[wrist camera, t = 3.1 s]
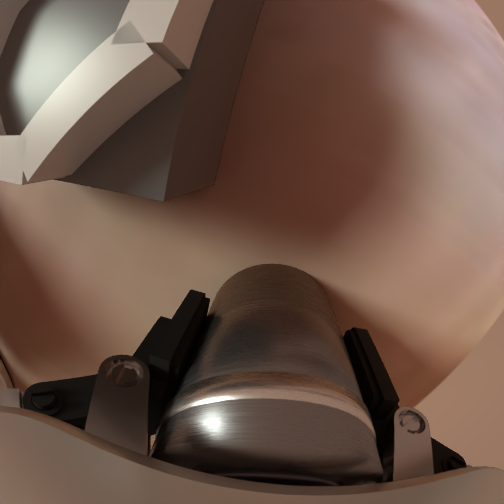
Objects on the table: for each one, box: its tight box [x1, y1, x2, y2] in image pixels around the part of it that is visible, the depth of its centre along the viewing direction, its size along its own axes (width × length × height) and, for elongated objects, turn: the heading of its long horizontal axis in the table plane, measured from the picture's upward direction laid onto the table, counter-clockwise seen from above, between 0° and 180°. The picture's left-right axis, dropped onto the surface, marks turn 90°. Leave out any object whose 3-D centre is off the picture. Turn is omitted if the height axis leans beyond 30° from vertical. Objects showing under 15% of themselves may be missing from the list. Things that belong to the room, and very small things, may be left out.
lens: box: [149, 264, 383, 486], centre depth 8 cm, size 5×5×8 cm
